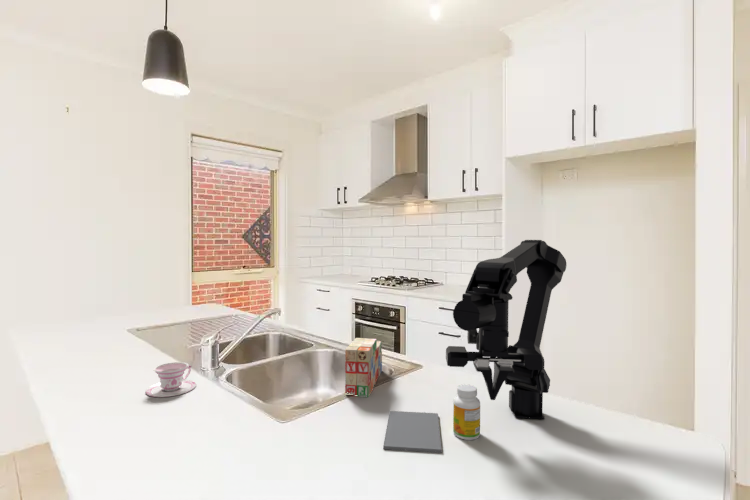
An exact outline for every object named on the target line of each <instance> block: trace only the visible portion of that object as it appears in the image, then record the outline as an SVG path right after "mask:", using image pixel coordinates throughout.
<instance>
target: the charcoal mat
mask: <svg viewBox="0 0 750 500" xmlns="http://www.w3.org/2000/svg"><path fill="white" fill-rule="evenodd" d="M440 430H441V429H440V421H439V413H438V412H419V411H401V410H400V411H399V410H397V411H396V410H389V413H388V417H387V424H386V429H385V435H384V440H383V445H382V447H383V450H393V451H406V450H407V451H408V452H409V451H410V452H422V451H425V453H441V454H442V452H443V451H442V440H441V432H440ZM407 451H406V452H407Z"/></svg>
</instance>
